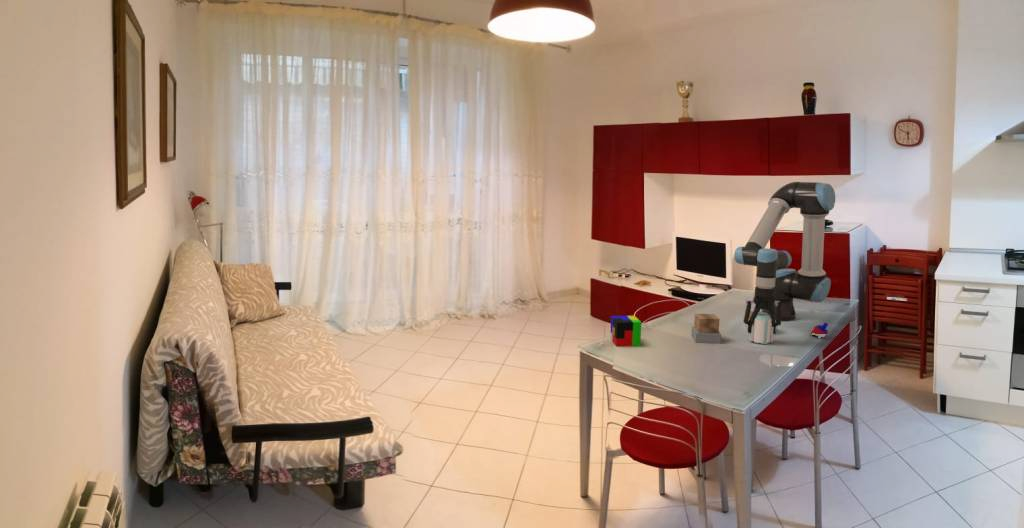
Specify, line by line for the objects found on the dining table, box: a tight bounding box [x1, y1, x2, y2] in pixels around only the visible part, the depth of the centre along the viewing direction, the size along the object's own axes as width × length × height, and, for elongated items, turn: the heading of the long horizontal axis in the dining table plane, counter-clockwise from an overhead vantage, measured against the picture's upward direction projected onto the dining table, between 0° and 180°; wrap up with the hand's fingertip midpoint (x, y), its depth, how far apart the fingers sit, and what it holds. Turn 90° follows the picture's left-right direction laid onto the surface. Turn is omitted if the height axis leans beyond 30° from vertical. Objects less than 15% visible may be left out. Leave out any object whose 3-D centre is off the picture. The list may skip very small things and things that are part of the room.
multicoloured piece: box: [810, 322, 829, 335], centre depth 265 cm, size 4×4×8 cm
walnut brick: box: [693, 313, 721, 333], centre depth 261 cm, size 8×8×6 cm
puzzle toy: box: [609, 315, 642, 347], centre depth 257 cm, size 10×10×10 cm
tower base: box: [690, 326, 722, 344], centre depth 262 cm, size 10×10×4 cm
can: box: [752, 311, 772, 345], centre depth 258 cm, size 7×7×12 cm
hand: (760, 340), depth 259 cm, fingers closed on can, 7 cm apart
